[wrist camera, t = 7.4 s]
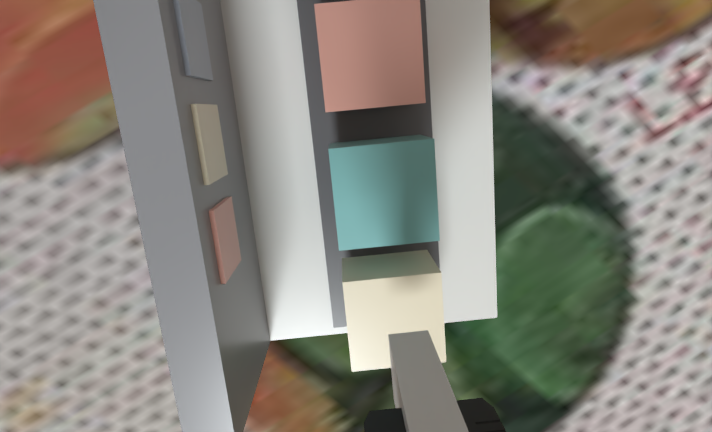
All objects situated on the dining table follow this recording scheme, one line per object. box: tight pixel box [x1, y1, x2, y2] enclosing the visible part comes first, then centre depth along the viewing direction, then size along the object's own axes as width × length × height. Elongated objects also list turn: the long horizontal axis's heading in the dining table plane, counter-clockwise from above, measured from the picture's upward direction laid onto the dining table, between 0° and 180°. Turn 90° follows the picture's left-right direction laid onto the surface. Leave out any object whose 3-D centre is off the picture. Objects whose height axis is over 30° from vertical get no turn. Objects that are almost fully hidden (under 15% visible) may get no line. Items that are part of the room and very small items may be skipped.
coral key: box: [314, 0, 426, 112], centre depth 22 cm, size 4×4×4 cm
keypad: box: [93, 0, 497, 432], centre depth 21 cm, size 16×24×10 cm, turn 5°
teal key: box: [328, 135, 440, 251], centre depth 22 cm, size 4×4×4 cm
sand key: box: [342, 250, 446, 372], centre depth 23 cm, size 4×4×4 cm
